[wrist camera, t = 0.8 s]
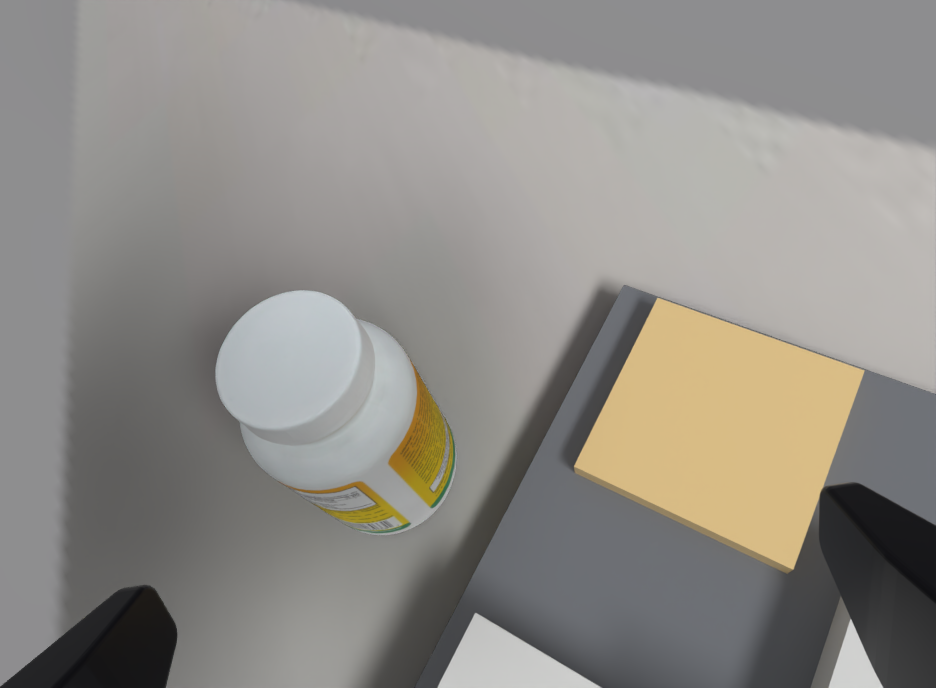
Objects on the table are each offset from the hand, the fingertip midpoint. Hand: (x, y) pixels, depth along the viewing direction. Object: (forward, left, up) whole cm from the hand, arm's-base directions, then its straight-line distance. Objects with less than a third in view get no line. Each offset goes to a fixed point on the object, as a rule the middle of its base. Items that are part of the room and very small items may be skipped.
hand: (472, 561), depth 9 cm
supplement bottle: (+2, +8, -15) cm, 17 cm away
